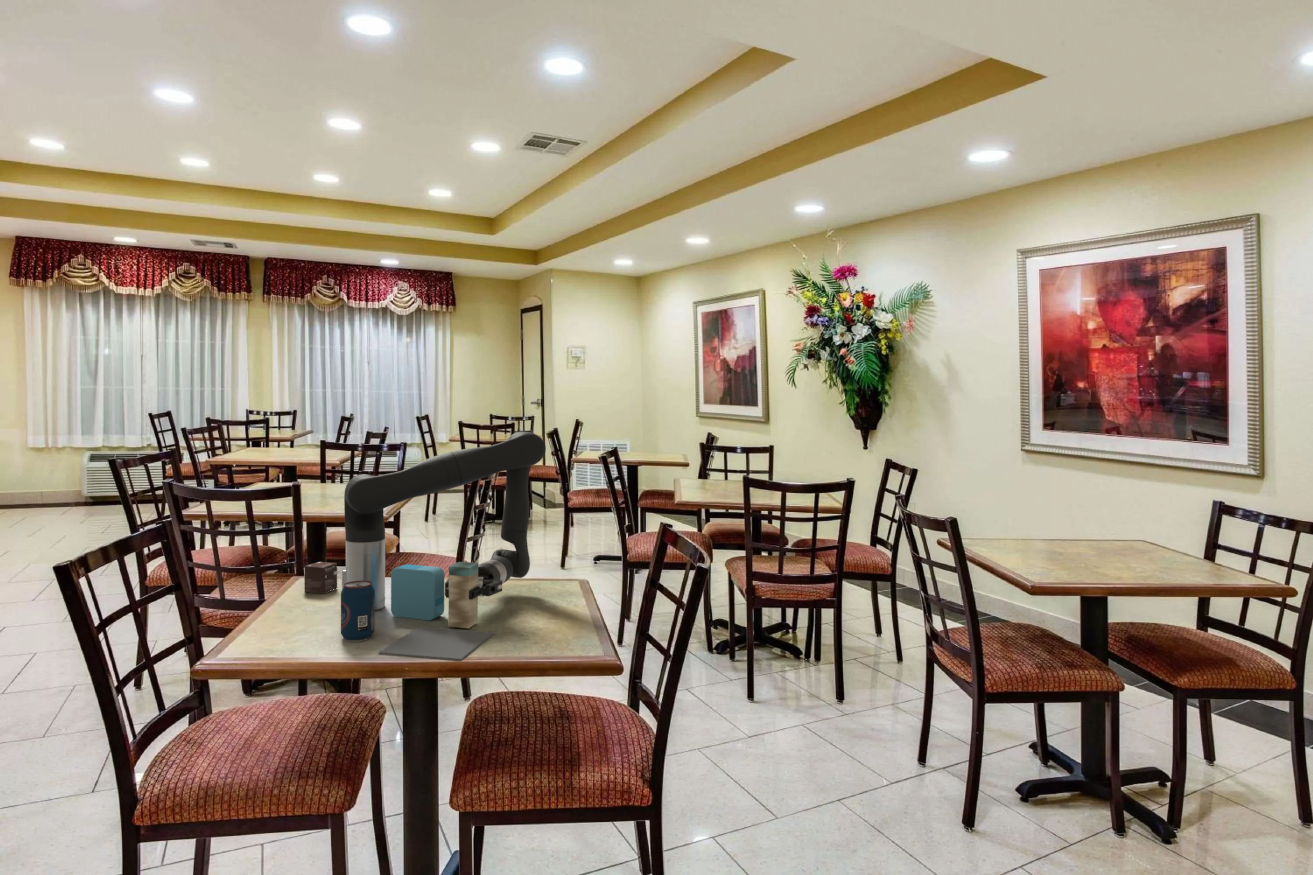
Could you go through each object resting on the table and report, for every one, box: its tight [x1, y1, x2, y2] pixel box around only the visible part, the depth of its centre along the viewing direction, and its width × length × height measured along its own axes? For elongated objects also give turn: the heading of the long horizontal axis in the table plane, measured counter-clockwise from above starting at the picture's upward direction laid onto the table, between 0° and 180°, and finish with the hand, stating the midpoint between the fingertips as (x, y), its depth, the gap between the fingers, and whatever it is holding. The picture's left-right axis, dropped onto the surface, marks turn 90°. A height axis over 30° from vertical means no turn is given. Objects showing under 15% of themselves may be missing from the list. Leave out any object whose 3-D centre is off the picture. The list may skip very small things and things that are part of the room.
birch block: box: [447, 561, 479, 629], centre depth 178 cm, size 5×5×14 cm
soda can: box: [340, 581, 376, 642], centre depth 168 cm, size 7×7×12 cm
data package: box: [390, 563, 445, 621], centre depth 185 cm, size 12×4×12 cm, turn 74°
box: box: [304, 561, 338, 594], centre depth 207 cm, size 6×6×7 cm
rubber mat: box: [378, 626, 495, 662], centre depth 165 cm, size 18×18×1 cm
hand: (458, 594), depth 175 cm, fingers closed on birch block, 5 cm apart
